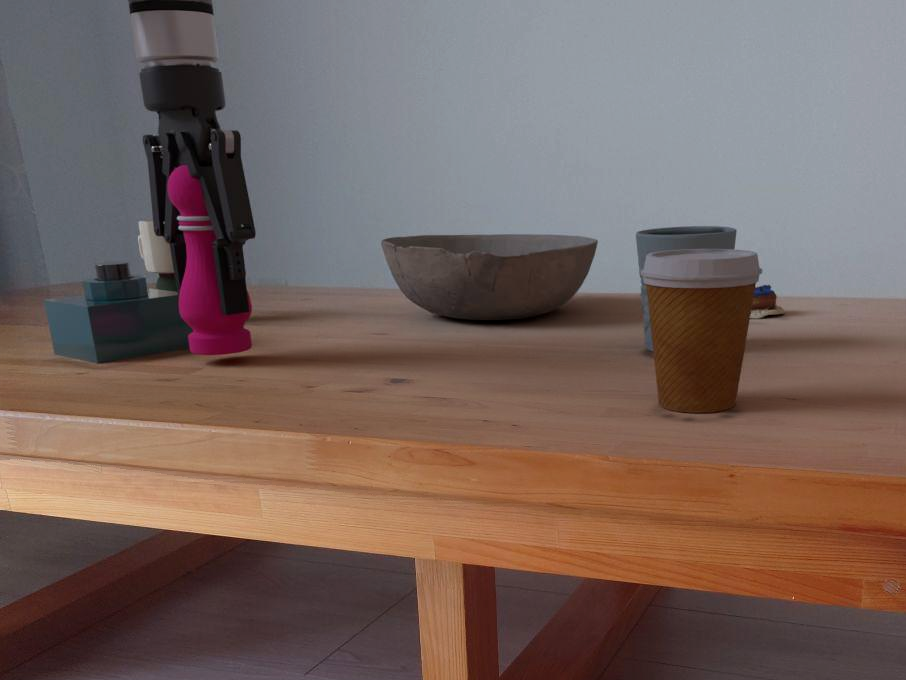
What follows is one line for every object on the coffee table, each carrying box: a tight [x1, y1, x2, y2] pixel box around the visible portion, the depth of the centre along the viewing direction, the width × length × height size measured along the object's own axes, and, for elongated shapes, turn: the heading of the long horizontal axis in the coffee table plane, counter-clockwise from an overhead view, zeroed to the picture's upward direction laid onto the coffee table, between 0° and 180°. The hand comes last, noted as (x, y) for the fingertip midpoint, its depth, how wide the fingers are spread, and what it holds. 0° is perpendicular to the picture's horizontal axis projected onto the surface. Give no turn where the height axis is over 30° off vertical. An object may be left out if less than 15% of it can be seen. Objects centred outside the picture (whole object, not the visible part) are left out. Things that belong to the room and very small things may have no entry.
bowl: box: [380, 233, 599, 321], centre depth 131 cm, size 28×28×10 cm
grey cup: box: [635, 225, 738, 352], centre depth 105 cm, size 10×10×12 cm
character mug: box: [137, 219, 177, 292], centre depth 131 cm, size 11×7×13 cm, turn 65°
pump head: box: [93, 261, 132, 281], centre depth 111 cm, size 4×4×2 cm
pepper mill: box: [168, 165, 253, 356], centre depth 102 cm, size 7×7×20 cm
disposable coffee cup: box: [640, 249, 764, 414], centre depth 81 cm, size 10×10×12 cm
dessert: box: [750, 284, 785, 320], centre depth 127 cm, size 8×7×6 cm
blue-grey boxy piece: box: [43, 274, 193, 365], centre depth 113 cm, size 12×10×8 cm
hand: (214, 309), depth 104 cm, fingers closed on pepper mill, 7 cm apart
